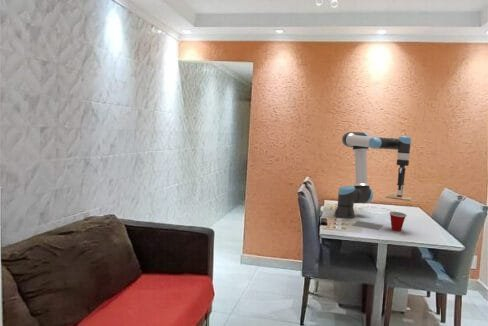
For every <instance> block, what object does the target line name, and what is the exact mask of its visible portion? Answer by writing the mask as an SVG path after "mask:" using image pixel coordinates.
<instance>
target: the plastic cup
mask: <svg viewBox="0 0 488 326" xmlns="http://www.w3.org/2000/svg"><path fill="white" fill-rule="evenodd" d="M389 216H390V226H391V227H390V228H391V230H392V231H395V232H401V231H402V229H403V226H404V222H405V220H406V217H407V214H406V213H403V212H400V211H389Z"/></svg>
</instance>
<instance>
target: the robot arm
mask: <svg viewBox="0 0 488 326" xmlns="http://www.w3.org/2000/svg"><path fill="white" fill-rule="evenodd" d="M341 142H342V144H343V145H344V146H345V147H347V148H352V151H353V152H354V168H355V169H354V171H355V172H354V173H355V177H354V178H355V184H354V185H343V186H340V187H339V188H338V193H337V207H336V209H335V210H334V214H333V215H334V217H335V216H336V217H335V218H337V217H339V218H338V219H344V220H346V219H348V220H353V219H355V218H356V214H355V213H356V212H355V209H354V204H368V203H369V204H370V202H371V201H372V199H373V198H374V191H373V189H372V188H371V187H370V184H369V183H368V164H367V163H368V162H367V161H368V160H367V158H368V157H367V155H368V154H367V153H368V151H369V149H374V150H395V151H397V153H396V156H397V157H396V166H399V168H398V170H397V171H398V175H397V182H396V185H397V190H396V191H397V192H396V195H402V196H403V192H402V183H403V186H404V185H405V178H406V176H405V175H406V170H407V169H406V167H408V166H409V165H410V164H409V163H410V161H409V160H410V156H411V145H412V137H411V136H408V135H407V136H405V135H399V136H398V138H396V137H395V138H394V137H377V136H371V135H370V134H369V133H367V132H363V131H362V132H361V131H360V132H359V131H349V132H344V134H343V135H342V137H341Z"/></svg>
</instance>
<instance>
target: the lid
mask: <svg viewBox="0 0 488 326" xmlns="http://www.w3.org/2000/svg"><path fill="white" fill-rule="evenodd" d="M403 191H404V185H403V183H402V192H403ZM385 199H391V200H398V201H405V202H410V201H412V200H413V199H414V197H413V196H410V195H409V196H408V195H403V194H402V195H397V194H394V193H389V194H387V195H385Z"/></svg>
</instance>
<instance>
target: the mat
mask: <svg viewBox="0 0 488 326" xmlns="http://www.w3.org/2000/svg"><path fill="white" fill-rule="evenodd" d="M351 226H352V227H353V226H354V227H358V228H365V229H370V230H377V231H379V230H380V229H381V228H382V227H384V224H380V223H373V222H372V223H371V222H367V221H361V220H357V221H356V222H354V223H353V224H351Z"/></svg>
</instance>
